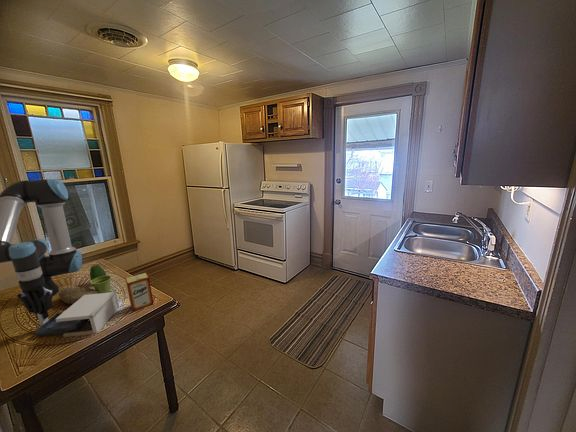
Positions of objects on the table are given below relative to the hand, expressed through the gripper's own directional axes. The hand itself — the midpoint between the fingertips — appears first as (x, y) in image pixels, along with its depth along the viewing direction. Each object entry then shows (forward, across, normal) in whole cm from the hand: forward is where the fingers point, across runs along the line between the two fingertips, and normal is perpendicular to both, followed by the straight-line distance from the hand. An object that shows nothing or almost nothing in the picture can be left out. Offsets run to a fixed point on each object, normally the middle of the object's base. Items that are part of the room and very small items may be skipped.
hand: (45, 324), depth 110 cm
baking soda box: (+2, +37, +12) cm, 38 cm away
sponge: (+2, 0, +22) cm, 22 cm away
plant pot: (+2, +9, +28) cm, 29 cm away
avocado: (+2, -1, +41) cm, 41 cm away
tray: (+2, +9, 0) cm, 9 cm away
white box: (+2, +19, +2) cm, 19 cm away
